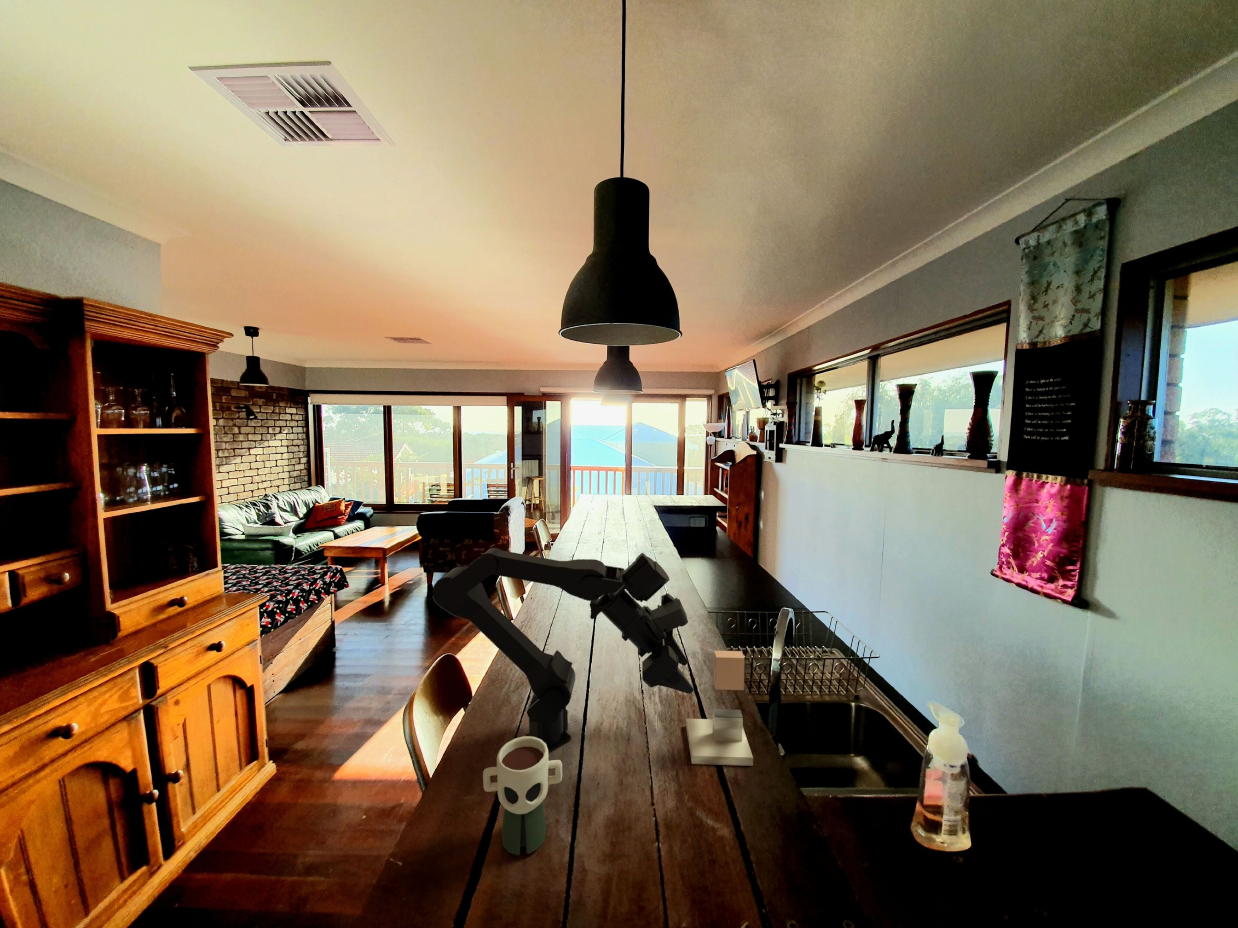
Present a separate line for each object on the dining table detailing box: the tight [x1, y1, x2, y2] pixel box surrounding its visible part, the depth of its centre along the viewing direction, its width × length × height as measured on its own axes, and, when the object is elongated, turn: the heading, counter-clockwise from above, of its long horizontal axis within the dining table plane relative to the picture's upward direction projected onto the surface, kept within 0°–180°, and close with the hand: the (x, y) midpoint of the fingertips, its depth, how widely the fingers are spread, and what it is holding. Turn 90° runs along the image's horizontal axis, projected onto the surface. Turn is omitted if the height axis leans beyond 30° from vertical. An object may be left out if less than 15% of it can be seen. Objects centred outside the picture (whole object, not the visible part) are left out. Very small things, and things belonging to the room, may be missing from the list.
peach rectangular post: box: [713, 650, 745, 691], centre depth 83 cm, size 5×2×6 cm, turn 88°
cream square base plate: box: [685, 708, 754, 767], centre depth 84 cm, size 10×10×6 cm
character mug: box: [482, 735, 563, 856], centre depth 65 cm, size 11×7×13 cm, turn 99°
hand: (689, 676), depth 83 cm, fingers open, 9 cm apart
